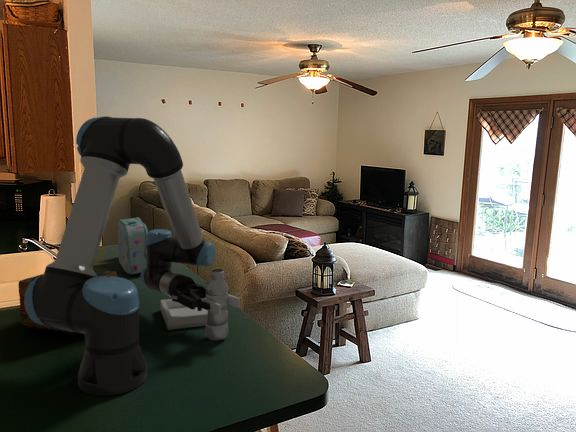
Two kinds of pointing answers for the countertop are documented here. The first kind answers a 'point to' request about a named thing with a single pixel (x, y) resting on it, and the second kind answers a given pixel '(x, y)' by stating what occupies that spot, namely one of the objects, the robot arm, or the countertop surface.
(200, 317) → the tray
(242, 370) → the countertop surface
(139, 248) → the lunch box
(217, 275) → the plastic bottle
